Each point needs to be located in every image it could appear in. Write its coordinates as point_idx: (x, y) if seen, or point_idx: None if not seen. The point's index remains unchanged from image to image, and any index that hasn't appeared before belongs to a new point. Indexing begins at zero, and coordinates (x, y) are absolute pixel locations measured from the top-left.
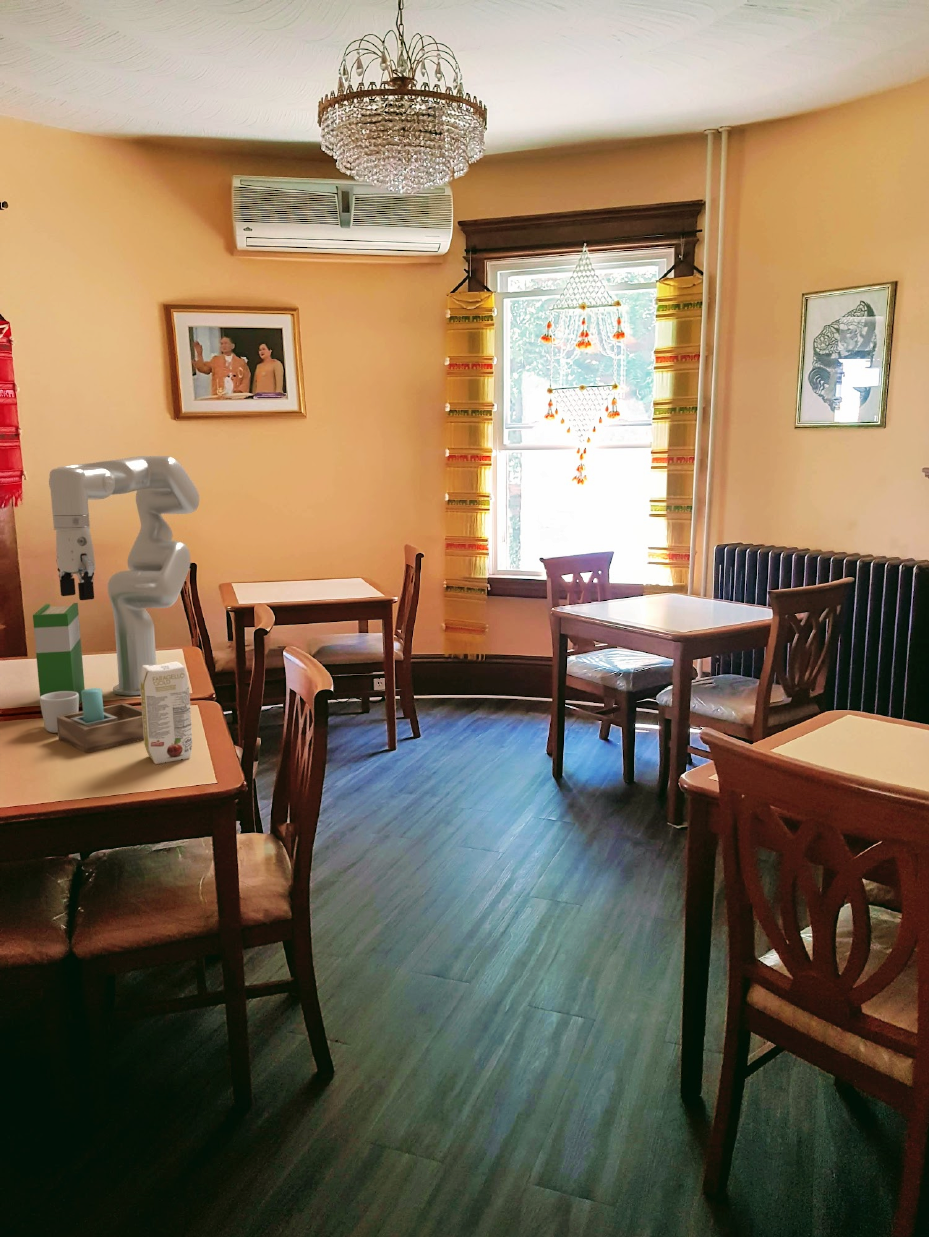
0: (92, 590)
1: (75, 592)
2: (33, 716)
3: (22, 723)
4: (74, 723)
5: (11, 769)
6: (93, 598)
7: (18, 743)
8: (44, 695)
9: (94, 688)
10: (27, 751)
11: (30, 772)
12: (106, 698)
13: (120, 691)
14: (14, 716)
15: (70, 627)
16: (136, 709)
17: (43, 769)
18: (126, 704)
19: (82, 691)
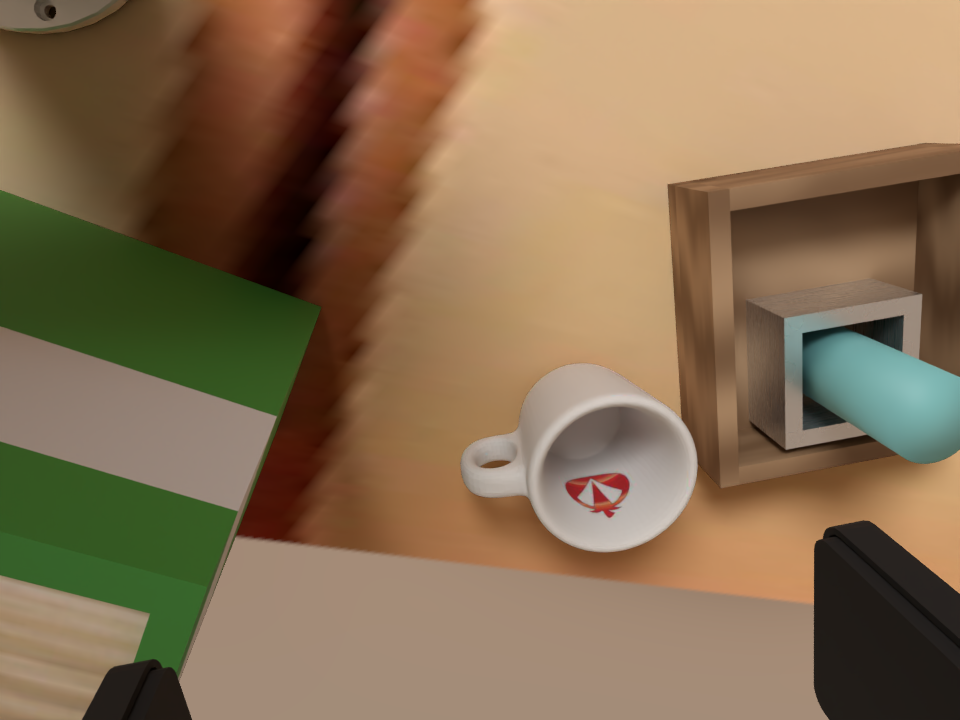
0: (956, 614)
1: (144, 678)
2: (285, 464)
3: (373, 514)
4: (869, 453)
5: None
6: (864, 527)
7: (636, 561)
8: (559, 527)
9: (905, 398)
10: (747, 551)
11: (950, 572)
12: (123, 104)
13: (97, 13)
14: None
15: (118, 456)
16: (866, 182)
17: (954, 540)
18: (748, 191)
19: (916, 457)
